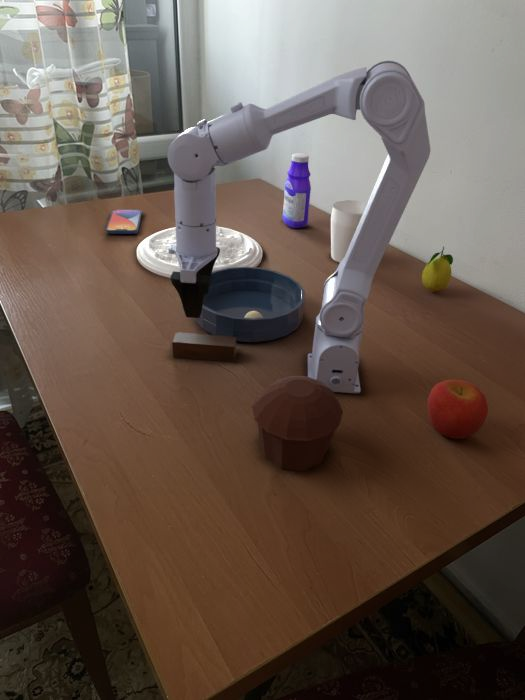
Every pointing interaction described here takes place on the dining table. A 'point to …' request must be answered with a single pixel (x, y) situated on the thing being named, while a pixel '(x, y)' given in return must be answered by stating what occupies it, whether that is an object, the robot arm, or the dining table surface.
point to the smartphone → (124, 222)
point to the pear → (437, 272)
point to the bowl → (252, 304)
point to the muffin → (296, 421)
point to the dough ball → (253, 315)
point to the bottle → (297, 192)
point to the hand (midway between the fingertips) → (197, 304)
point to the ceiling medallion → (231, 243)
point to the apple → (457, 408)
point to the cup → (344, 226)
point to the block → (204, 347)
